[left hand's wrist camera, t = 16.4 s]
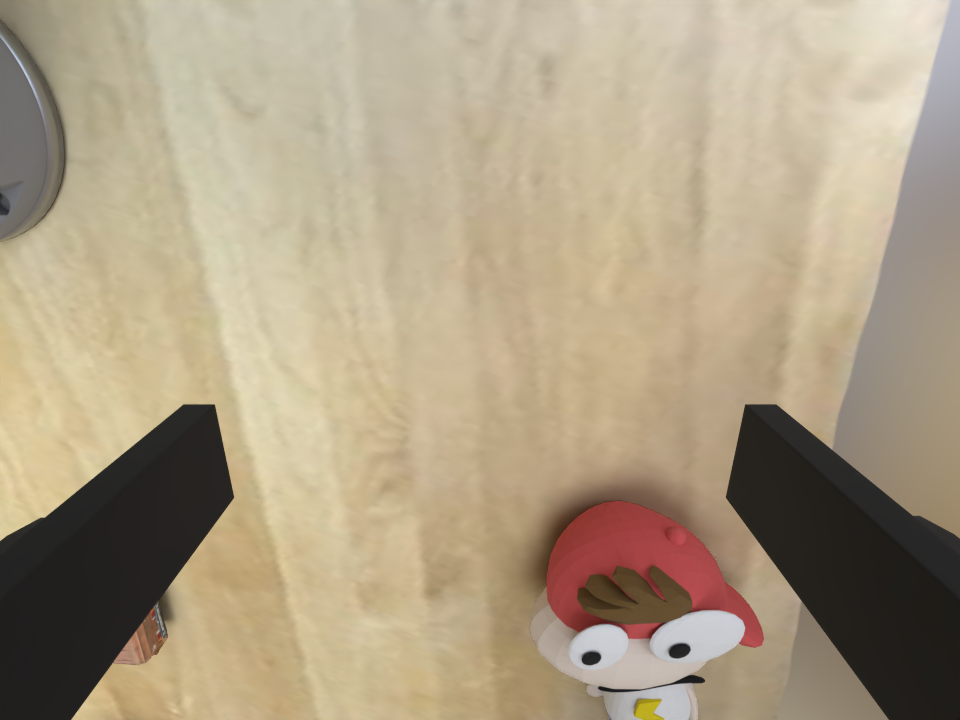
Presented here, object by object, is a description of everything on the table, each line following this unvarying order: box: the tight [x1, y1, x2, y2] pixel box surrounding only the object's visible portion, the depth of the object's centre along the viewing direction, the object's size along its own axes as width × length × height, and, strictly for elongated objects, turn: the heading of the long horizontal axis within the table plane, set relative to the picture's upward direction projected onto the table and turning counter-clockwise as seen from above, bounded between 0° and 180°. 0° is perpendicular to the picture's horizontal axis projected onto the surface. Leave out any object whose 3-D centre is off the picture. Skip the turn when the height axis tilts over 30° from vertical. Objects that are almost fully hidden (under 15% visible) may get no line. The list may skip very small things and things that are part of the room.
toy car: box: [113, 601, 168, 665], centre depth 42 cm, size 6×12×7 cm, turn 96°
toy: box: [530, 501, 764, 720], centre depth 42 cm, size 18×10×30 cm
